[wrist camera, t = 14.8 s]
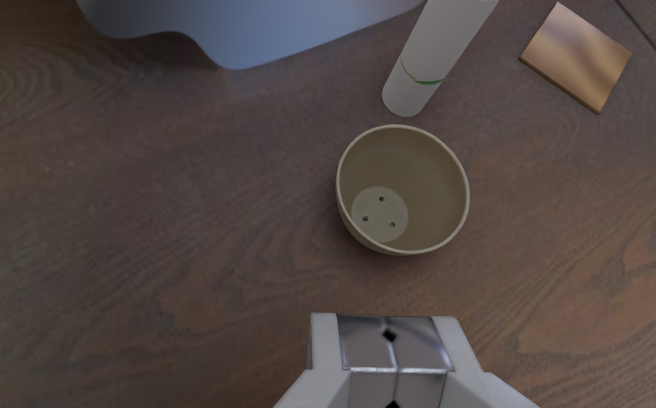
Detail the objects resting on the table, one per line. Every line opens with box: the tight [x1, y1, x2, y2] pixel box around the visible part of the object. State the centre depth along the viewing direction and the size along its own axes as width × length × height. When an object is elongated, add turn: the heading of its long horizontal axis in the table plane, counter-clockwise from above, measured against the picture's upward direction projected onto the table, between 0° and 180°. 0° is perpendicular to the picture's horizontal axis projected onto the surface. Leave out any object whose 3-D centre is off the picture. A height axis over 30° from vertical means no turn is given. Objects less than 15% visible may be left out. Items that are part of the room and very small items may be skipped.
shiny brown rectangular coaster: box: [518, 2, 632, 114], centre depth 49 cm, size 10×10×1 cm
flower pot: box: [335, 125, 470, 256], centre depth 36 cm, size 10×10×7 cm
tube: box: [382, 0, 500, 117], centre depth 37 cm, size 4×4×15 cm
